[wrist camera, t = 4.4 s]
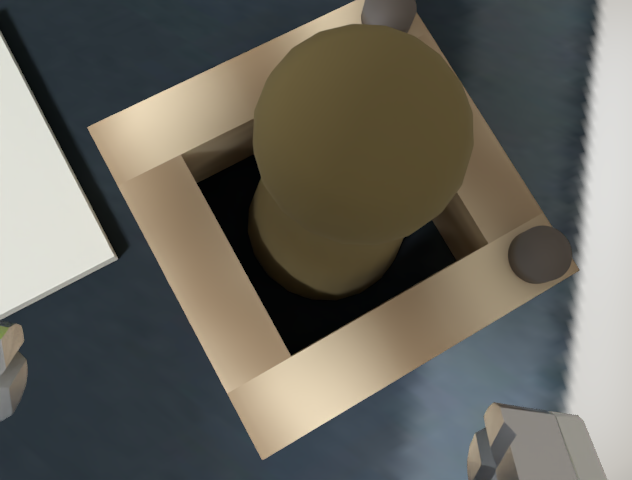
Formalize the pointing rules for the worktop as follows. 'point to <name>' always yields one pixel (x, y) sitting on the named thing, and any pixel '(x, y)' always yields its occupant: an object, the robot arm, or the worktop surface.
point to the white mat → (39, 202)
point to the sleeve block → (234, 285)
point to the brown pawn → (353, 156)
